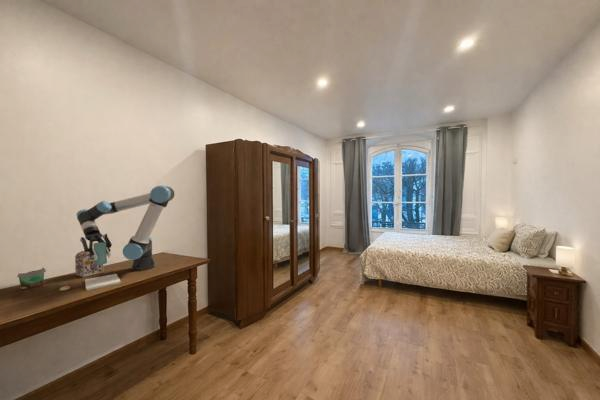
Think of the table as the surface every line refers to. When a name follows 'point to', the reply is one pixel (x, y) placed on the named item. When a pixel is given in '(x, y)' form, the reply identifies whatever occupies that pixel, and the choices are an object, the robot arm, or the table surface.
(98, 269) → the decorative jar
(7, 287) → the table surface
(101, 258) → the teal canister
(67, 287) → the beige mottled disc
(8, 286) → the table surface
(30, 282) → the food container
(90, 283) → the pale board
